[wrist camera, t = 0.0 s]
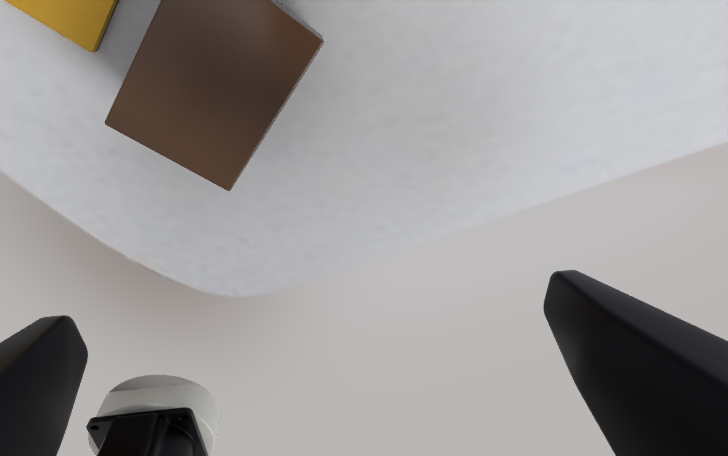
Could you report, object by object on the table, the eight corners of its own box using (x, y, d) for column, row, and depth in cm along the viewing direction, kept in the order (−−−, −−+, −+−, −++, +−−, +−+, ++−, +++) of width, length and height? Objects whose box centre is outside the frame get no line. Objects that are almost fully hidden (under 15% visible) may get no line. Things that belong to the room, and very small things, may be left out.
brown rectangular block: (240, 161, 20) (229, 192, 17) (136, 101, 18) (103, 123, 15) (321, 31, 18) (324, 41, 15) (211, -53, 16) (189, -62, 13)
